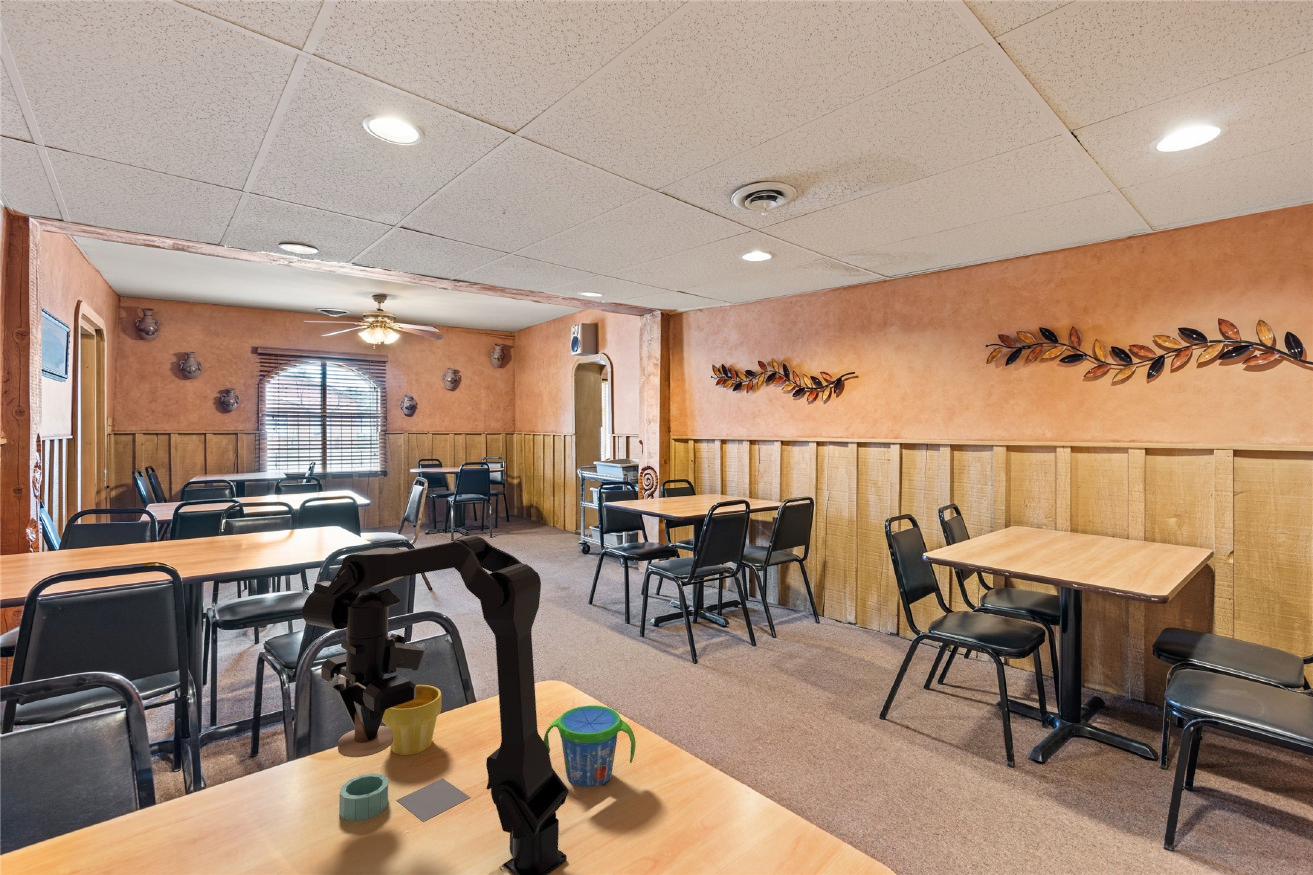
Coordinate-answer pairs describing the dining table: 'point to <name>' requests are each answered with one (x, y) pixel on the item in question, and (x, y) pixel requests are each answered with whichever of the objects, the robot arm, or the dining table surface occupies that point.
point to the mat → (433, 799)
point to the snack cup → (590, 743)
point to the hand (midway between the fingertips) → (366, 735)
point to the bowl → (363, 797)
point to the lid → (364, 741)
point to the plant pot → (414, 721)
